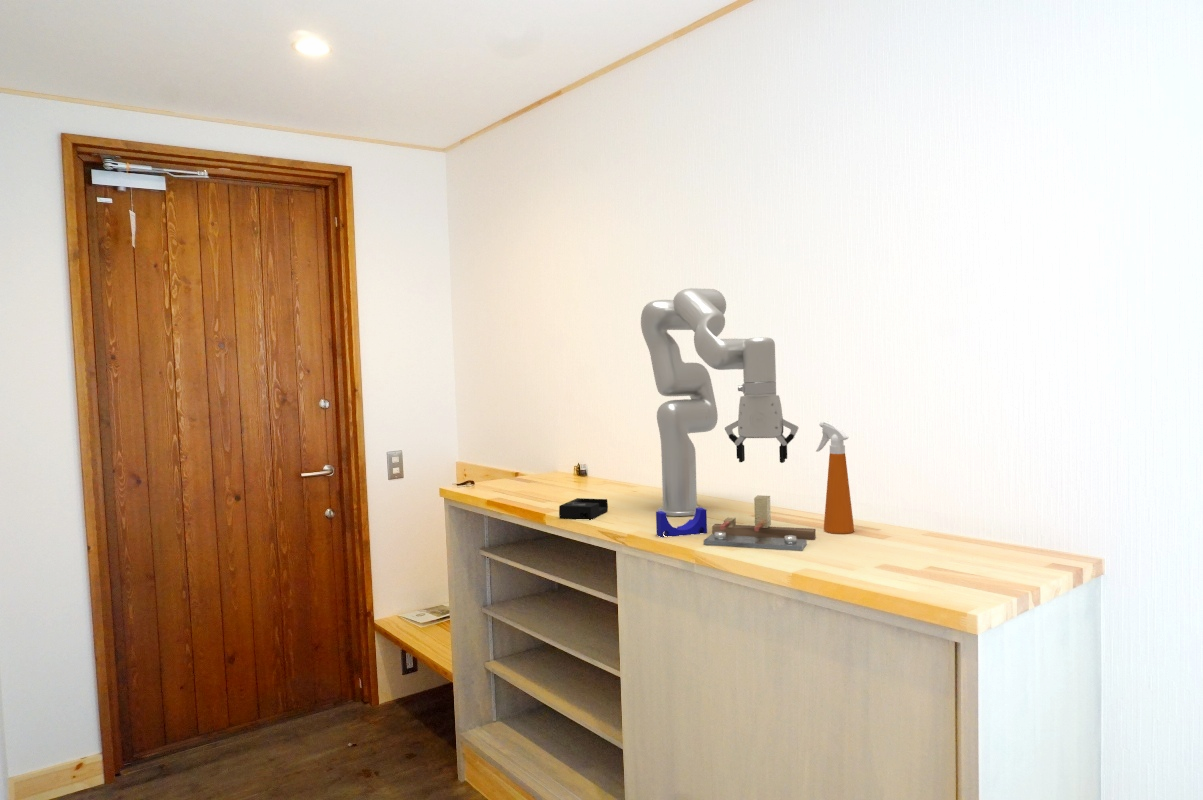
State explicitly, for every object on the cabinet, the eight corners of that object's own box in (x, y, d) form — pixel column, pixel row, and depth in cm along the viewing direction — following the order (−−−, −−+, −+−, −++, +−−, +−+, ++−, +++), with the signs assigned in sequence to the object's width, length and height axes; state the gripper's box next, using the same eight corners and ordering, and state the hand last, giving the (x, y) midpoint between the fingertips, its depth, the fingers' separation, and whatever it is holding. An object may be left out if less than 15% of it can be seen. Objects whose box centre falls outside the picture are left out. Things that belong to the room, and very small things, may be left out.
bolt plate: (711, 538, 185) (711, 529, 185) (806, 543, 177) (806, 534, 176) (703, 544, 179) (703, 535, 179) (801, 550, 170) (801, 540, 170)
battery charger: (591, 521, 212) (590, 506, 212) (559, 520, 216) (558, 505, 216) (608, 512, 224) (607, 499, 224) (577, 511, 228) (577, 498, 228)
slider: (758, 524, 189) (757, 495, 188) (770, 524, 187) (770, 495, 187) (749, 532, 180) (749, 501, 180) (762, 532, 179) (762, 502, 178)
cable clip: (699, 530, 196) (699, 506, 195) (707, 534, 191) (706, 509, 191) (654, 534, 192) (653, 510, 192) (660, 538, 188) (660, 513, 188)
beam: (716, 531, 193) (715, 516, 193) (815, 536, 183) (815, 521, 183) (705, 539, 184) (705, 524, 184) (810, 545, 175) (809, 529, 175)
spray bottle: (829, 524, 197) (827, 420, 196) (860, 531, 187) (858, 422, 186) (807, 527, 194) (805, 421, 193) (837, 535, 184) (835, 424, 183)
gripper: (720, 391, 185) (722, 463, 185) (794, 389, 178) (796, 464, 179) (727, 390, 192) (729, 459, 192) (799, 388, 185) (801, 460, 186)
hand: (761, 461), depth 185 cm, fingers open, 9 cm apart
